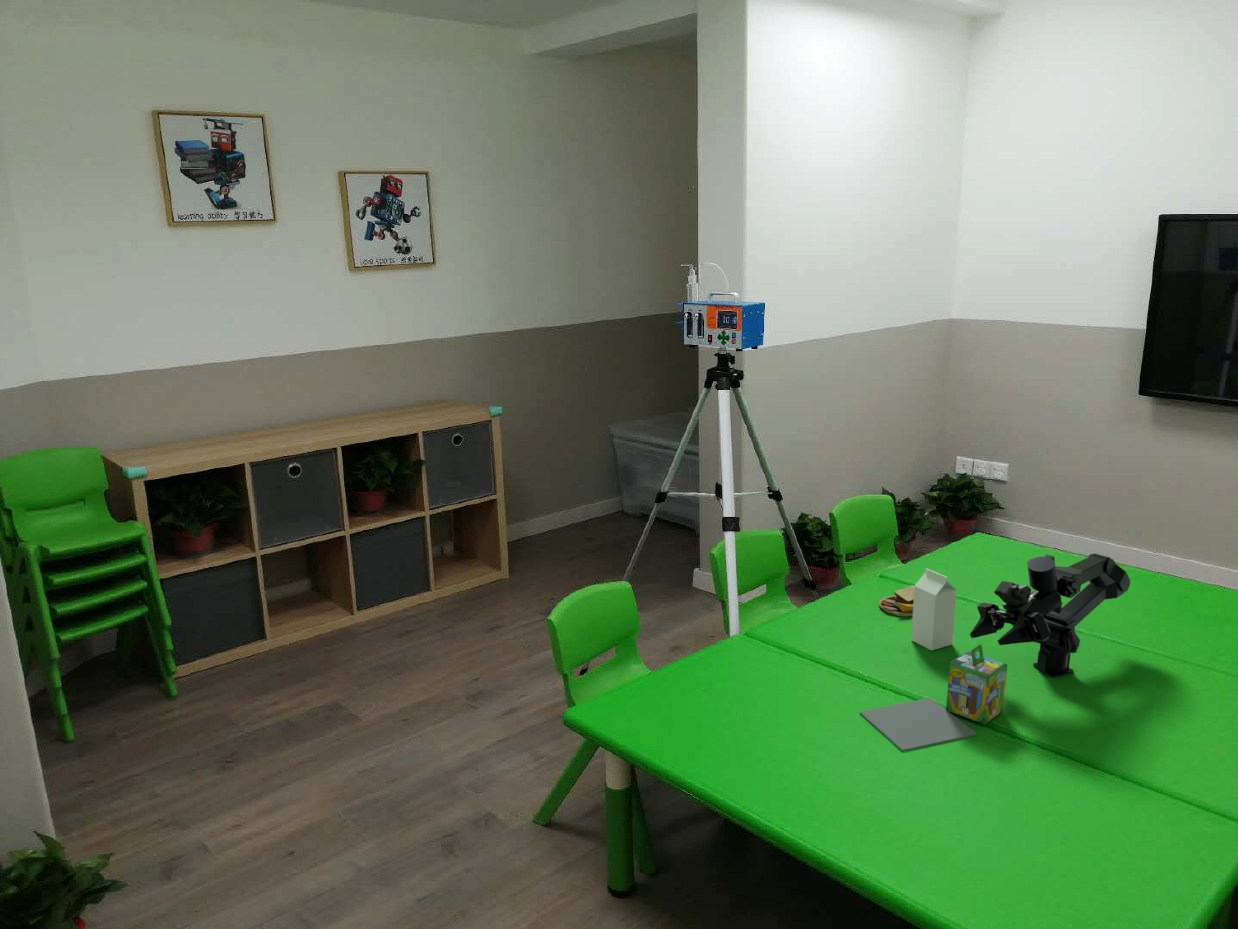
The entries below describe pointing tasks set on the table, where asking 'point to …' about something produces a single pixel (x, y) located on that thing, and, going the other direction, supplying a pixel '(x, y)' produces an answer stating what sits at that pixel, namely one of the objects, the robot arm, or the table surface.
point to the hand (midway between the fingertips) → (984, 639)
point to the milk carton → (933, 611)
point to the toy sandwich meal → (899, 602)
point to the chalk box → (976, 686)
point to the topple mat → (917, 724)
